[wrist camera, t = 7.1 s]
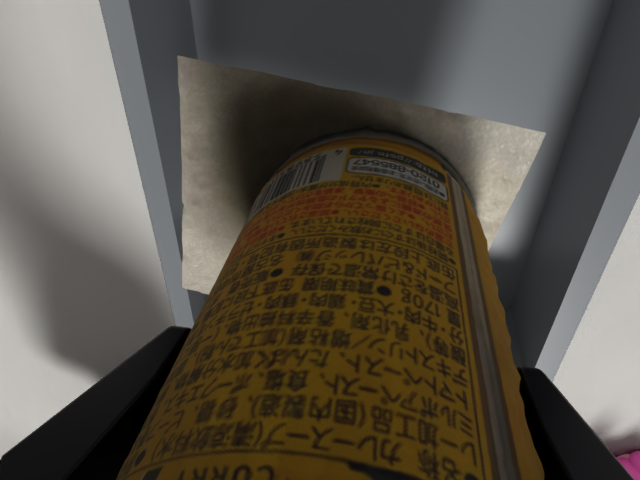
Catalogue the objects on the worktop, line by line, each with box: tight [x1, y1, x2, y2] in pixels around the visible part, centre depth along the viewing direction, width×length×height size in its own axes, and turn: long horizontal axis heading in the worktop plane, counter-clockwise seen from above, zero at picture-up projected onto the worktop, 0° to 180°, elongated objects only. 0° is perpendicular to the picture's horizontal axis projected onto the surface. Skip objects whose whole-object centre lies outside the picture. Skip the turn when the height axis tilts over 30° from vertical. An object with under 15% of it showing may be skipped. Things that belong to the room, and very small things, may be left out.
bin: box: [99, 0, 640, 382], centre depth 16 cm, size 17×15×5 cm
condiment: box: [116, 55, 546, 480], centre depth 8 cm, size 7×8×12 cm
